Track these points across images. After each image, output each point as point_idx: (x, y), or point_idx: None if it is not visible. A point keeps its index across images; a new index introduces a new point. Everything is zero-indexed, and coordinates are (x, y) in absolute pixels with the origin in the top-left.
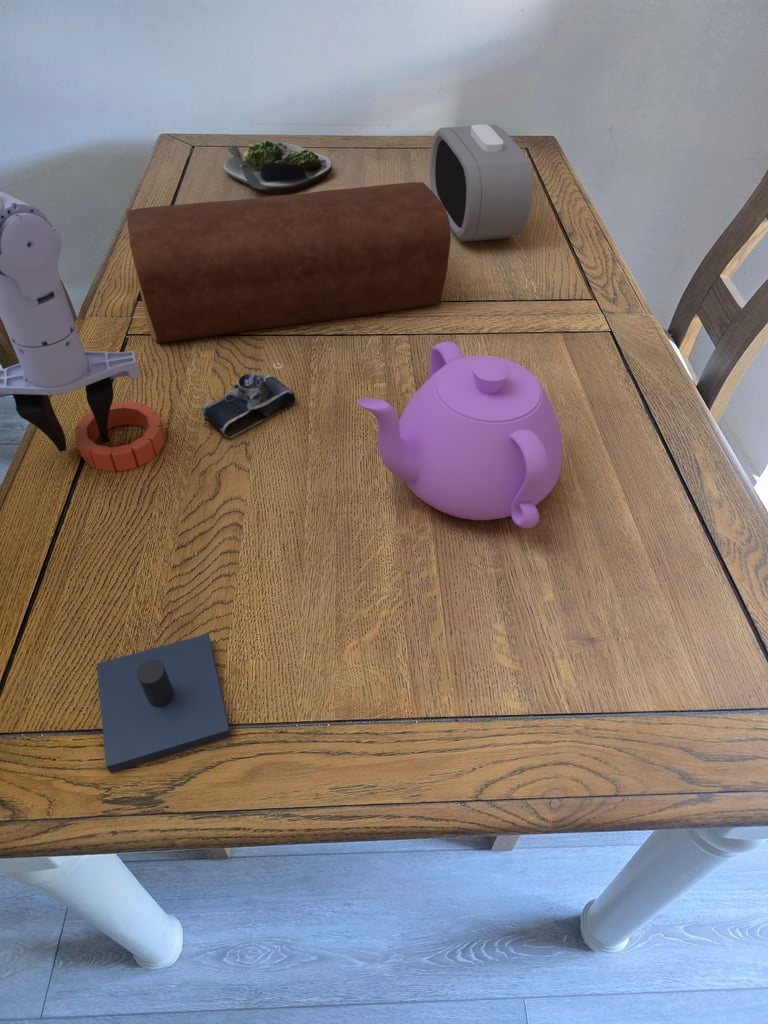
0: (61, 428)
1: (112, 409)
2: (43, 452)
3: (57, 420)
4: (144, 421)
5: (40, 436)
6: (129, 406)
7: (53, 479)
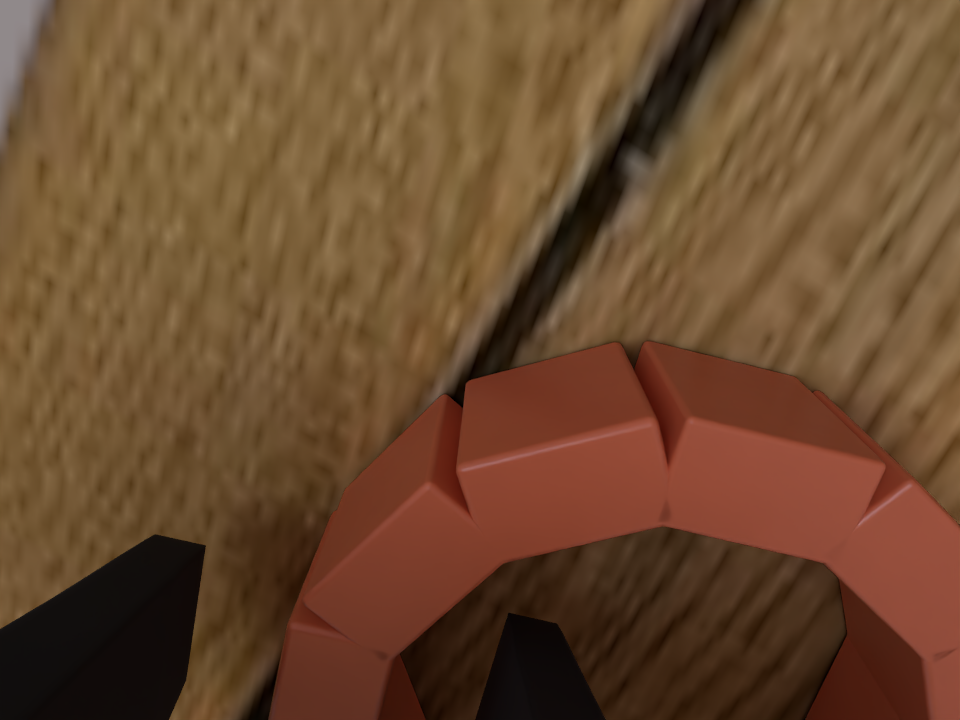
0: (157, 607)
1: (719, 534)
2: (48, 429)
3: (96, 682)
4: (879, 644)
5: (42, 222)
6: (888, 578)
7: None
